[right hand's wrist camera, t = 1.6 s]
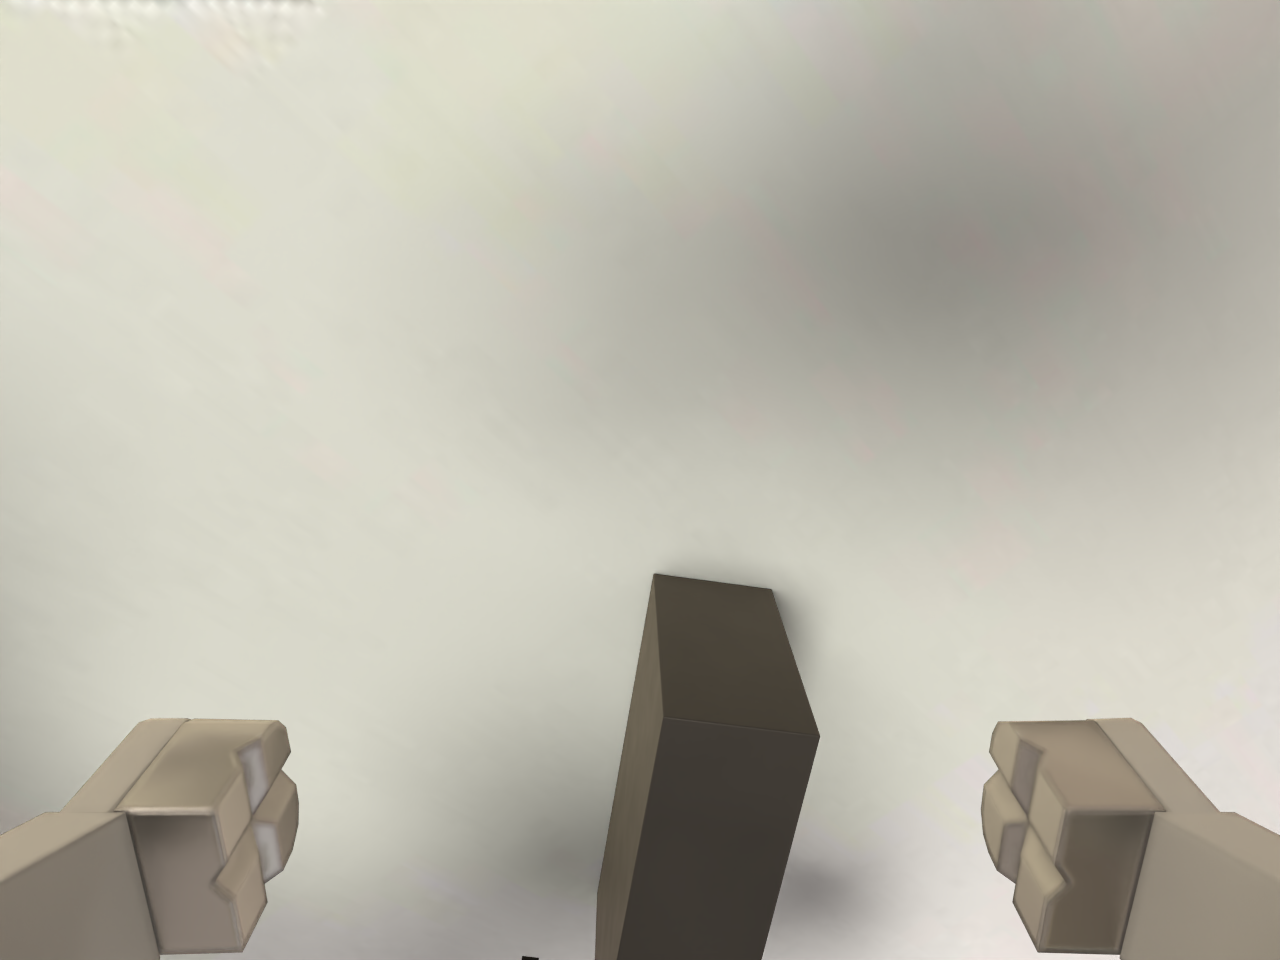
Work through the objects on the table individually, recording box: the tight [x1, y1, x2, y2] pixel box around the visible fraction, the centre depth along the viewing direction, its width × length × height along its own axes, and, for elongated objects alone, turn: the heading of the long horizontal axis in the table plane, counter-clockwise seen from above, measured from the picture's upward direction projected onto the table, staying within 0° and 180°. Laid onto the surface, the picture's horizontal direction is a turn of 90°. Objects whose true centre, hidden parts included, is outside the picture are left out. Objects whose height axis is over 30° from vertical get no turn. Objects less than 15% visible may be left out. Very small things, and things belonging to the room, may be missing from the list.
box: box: [595, 574, 820, 960], centre depth 43 cm, size 20×6×12 cm, turn 171°
